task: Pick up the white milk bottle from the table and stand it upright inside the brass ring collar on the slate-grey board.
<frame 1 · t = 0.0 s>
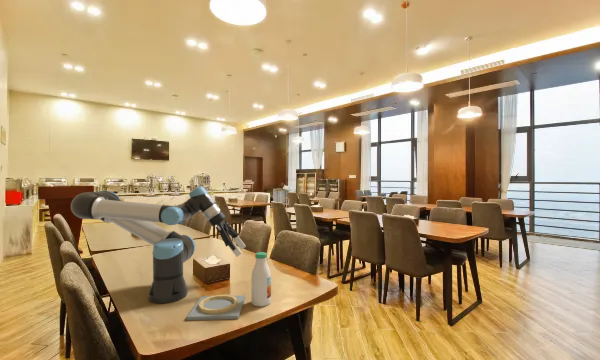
hand: (241, 251, 138), 15 cm above the table, tool tilted 35°, fingers open, 13 cm apart
milk bottle: (261, 303, 117), on the table
ring board: (218, 308, 112), on the table
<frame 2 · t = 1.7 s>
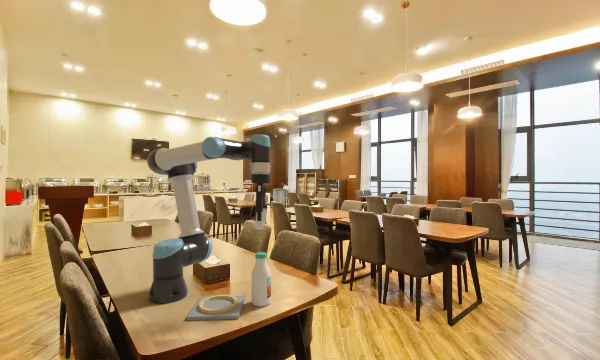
hand: (261, 226, 117), 31 cm above the table, tool pointing down, fingers open, 13 cm apart
nothing on the table moved.
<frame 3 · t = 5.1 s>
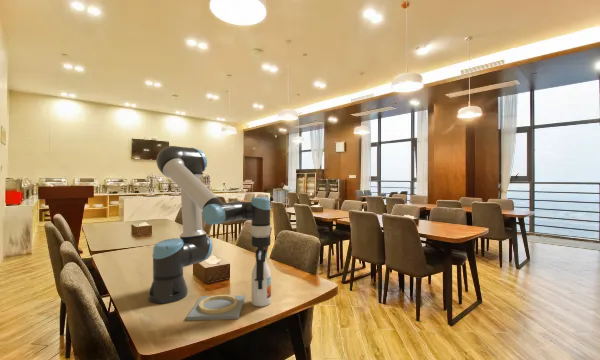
hand: (261, 292, 117), 4 cm above the table, tool pointing down, fingers closed on milk bottle, 8 cm apart
milk bottle: (261, 303, 117), on the table, touching gripper
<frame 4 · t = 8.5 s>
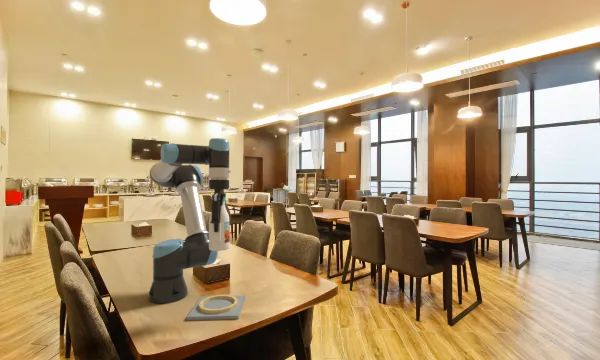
hand: (219, 238, 112), 27 cm above the table, tool pointing down, fingers closed on milk bottle, 8 cm apart
milk bottle: (219, 249, 112), point 23 cm above the table, touching gripper
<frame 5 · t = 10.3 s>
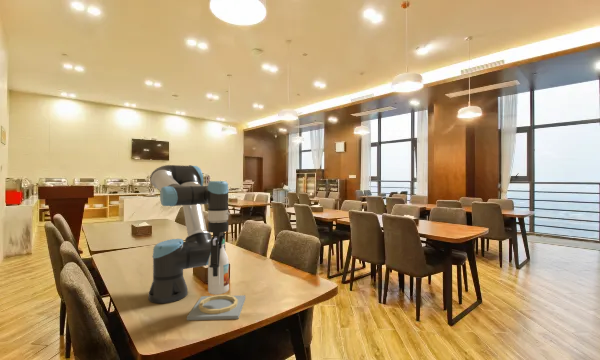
hand: (218, 280, 112), 11 cm above the table, tool pointing down, fingers closed on milk bottle, 8 cm apart
milk bottle: (218, 291, 112), point 6 cm above the table, touching gripper
when the fingers open (7 cm above the table, at t = 11.9 s): milk bottle drops 1 cm, resting on ring board.
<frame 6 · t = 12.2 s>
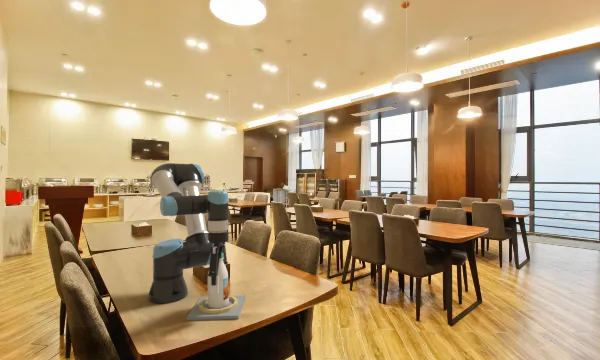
hand: (218, 286, 112), 8 cm above the table, tool pointing down, fingers open, 12 cm apart
milk bottle: (218, 305, 112), point 1 cm above the table, touching ring board
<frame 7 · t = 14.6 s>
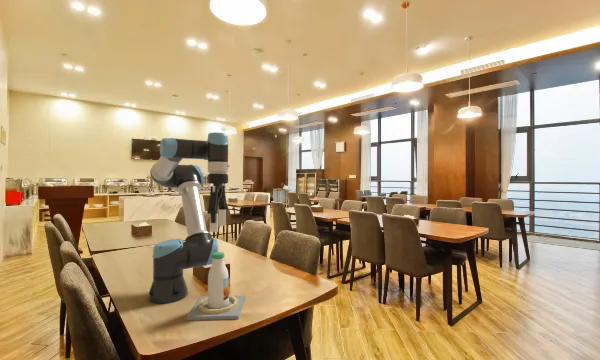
hand: (218, 228, 112), 31 cm above the table, tool pointing down, fingers open, 13 cm apart
nothing on the table moved.
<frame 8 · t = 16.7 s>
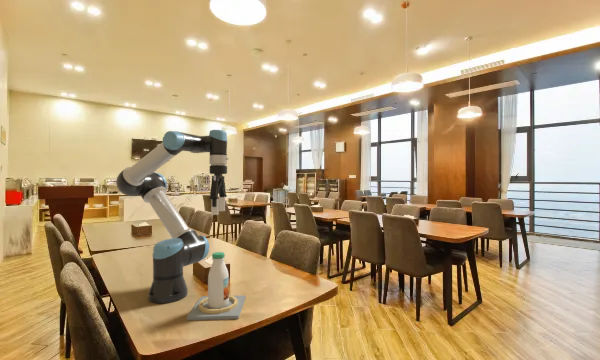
hand: (218, 212, 130), 35 cm above the table, tool pointing down, fingers open, 13 cm apart
nothing on the table moved.
at the end: milk bottle 0.1 cm off-centre on the ring board, point 1.0 cm above the ring board's base; milk bottle tilted 0°; the gripper is holding nothing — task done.
